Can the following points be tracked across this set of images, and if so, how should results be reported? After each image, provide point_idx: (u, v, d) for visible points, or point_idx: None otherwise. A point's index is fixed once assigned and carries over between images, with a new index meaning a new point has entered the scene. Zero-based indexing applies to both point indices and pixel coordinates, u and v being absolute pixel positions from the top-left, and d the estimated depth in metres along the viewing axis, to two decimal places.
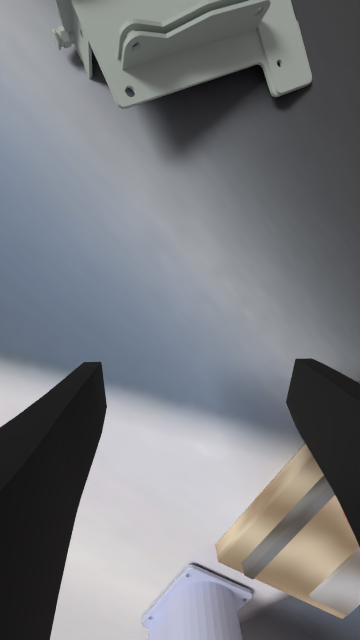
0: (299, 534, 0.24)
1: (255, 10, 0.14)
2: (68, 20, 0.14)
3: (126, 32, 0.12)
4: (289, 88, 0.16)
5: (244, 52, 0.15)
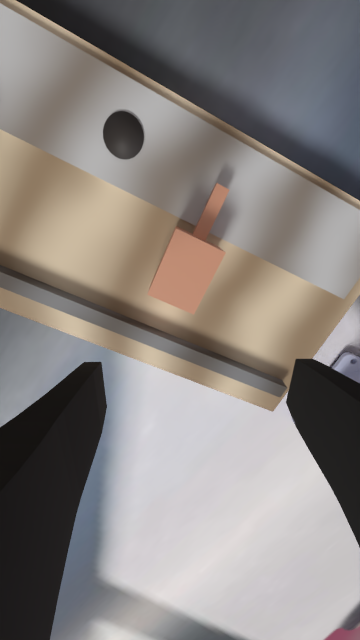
0: (231, 338, 0.20)
1: None
2: None
3: None
4: None
5: None
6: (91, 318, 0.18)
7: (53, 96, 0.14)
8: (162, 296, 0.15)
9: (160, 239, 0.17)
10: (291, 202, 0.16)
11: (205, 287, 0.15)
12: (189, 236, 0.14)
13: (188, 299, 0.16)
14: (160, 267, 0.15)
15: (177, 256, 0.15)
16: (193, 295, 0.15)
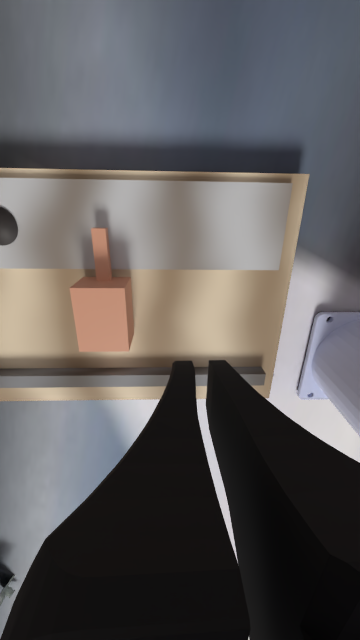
0: (190, 349, 0.20)
1: None
2: None
3: None
4: None
5: None
6: (55, 383, 0.19)
7: None
8: (92, 347, 0.16)
9: None
10: (173, 207, 0.15)
11: (125, 324, 0.16)
12: (84, 289, 0.15)
13: (116, 341, 0.16)
14: (76, 325, 0.15)
15: (85, 309, 0.15)
16: (118, 335, 0.16)
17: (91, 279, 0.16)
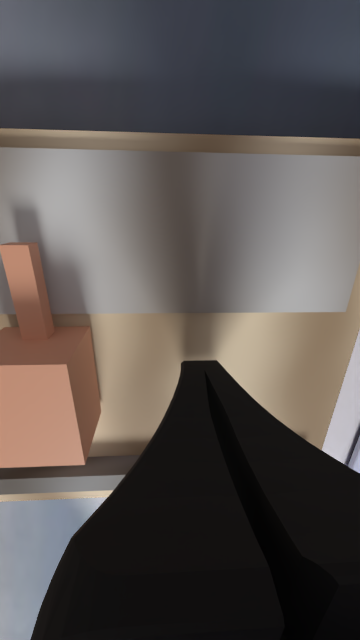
0: None
1: None
2: None
3: None
4: None
5: None
6: None
7: None
8: (17, 461, 0.09)
9: None
10: (163, 204, 0.08)
11: (73, 424, 0.08)
12: None
13: (60, 450, 0.09)
14: None
15: None
16: (62, 441, 0.09)
17: (15, 335, 0.09)
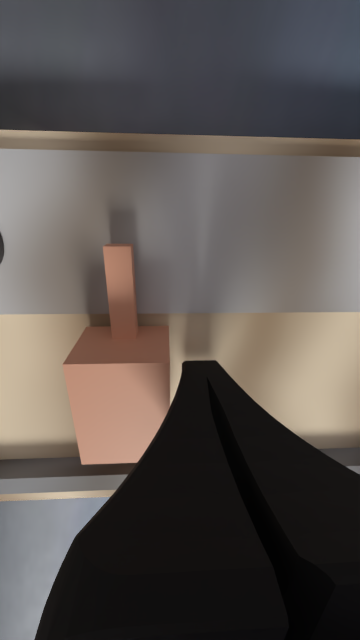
0: None
1: None
2: None
3: None
4: None
5: None
6: (69, 486, 0.12)
7: None
8: (106, 457, 0.09)
9: None
10: (291, 206, 0.08)
11: None
12: (92, 366, 0.08)
13: None
14: (76, 425, 0.08)
15: (92, 400, 0.08)
16: (152, 438, 0.09)
17: (102, 334, 0.09)
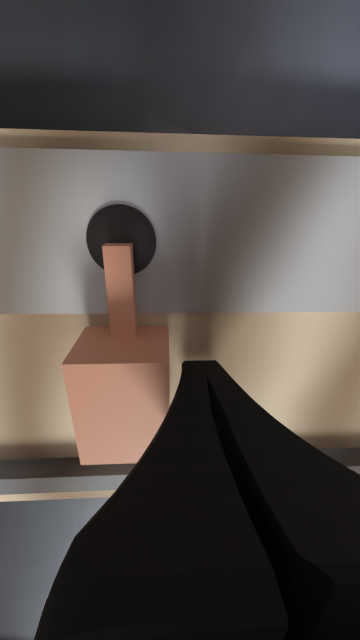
0: None
1: None
2: None
3: None
4: None
5: None
6: None
7: None
8: (105, 458, 0.09)
9: (230, 348, 0.11)
10: None
11: None
12: (91, 366, 0.07)
13: None
14: (75, 425, 0.08)
15: (91, 400, 0.08)
16: None
17: (101, 334, 0.09)
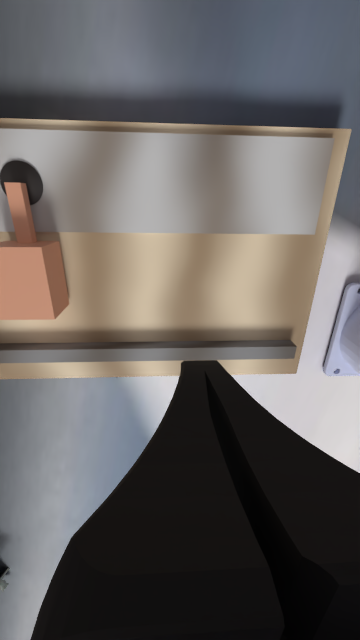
0: (218, 321, 0.19)
1: None
2: None
3: None
4: None
5: None
6: (78, 357, 0.18)
7: None
8: (14, 315, 0.15)
9: (104, 259, 0.17)
10: (208, 164, 0.15)
11: (46, 289, 0.14)
12: None
13: (39, 307, 0.15)
14: None
15: (0, 272, 0.14)
16: (40, 301, 0.15)
17: (13, 242, 0.15)
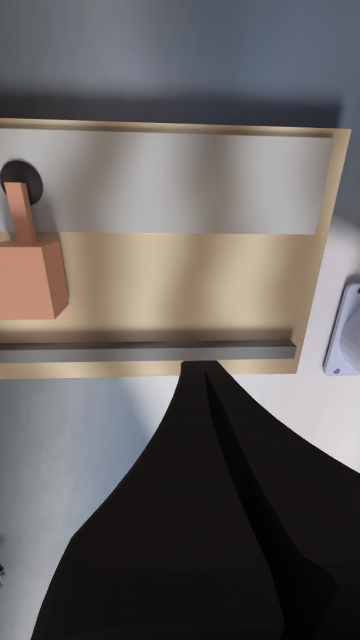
0: (218, 321, 0.19)
1: None
2: None
3: None
4: None
5: None
6: (78, 357, 0.18)
7: None
8: (15, 315, 0.15)
9: (104, 259, 0.17)
10: (208, 164, 0.15)
11: (46, 289, 0.14)
12: None
13: (39, 307, 0.15)
14: None
15: (0, 272, 0.14)
16: (40, 301, 0.15)
17: (13, 242, 0.15)
